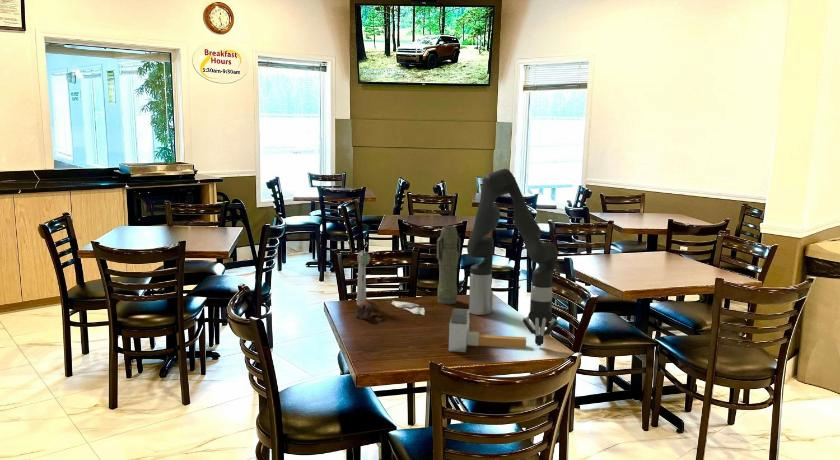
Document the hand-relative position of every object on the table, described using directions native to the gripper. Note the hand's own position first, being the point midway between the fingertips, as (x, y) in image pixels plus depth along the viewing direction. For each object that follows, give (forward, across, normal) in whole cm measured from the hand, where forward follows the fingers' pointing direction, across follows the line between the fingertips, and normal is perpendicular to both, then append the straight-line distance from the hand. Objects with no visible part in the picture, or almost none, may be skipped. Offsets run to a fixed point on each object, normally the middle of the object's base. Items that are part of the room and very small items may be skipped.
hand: (538, 345), depth 226 cm
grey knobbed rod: (+1, +74, -42) cm, 86 cm away
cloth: (+2, +53, -44) cm, 69 cm away
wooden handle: (+1, +16, 0) cm, 16 cm away
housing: (+1, +29, 0) cm, 29 cm away
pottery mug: (+2, +69, -24) cm, 74 cm away
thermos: (+1, +38, -57) cm, 69 cm away
